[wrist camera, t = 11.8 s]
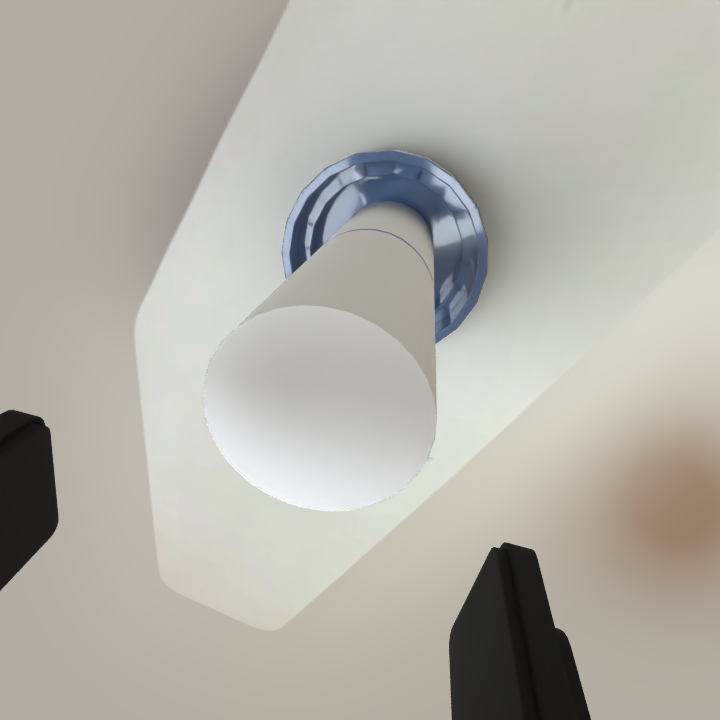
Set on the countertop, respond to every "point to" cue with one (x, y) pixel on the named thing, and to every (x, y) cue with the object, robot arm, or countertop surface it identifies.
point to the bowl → (415, 189)
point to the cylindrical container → (335, 370)
